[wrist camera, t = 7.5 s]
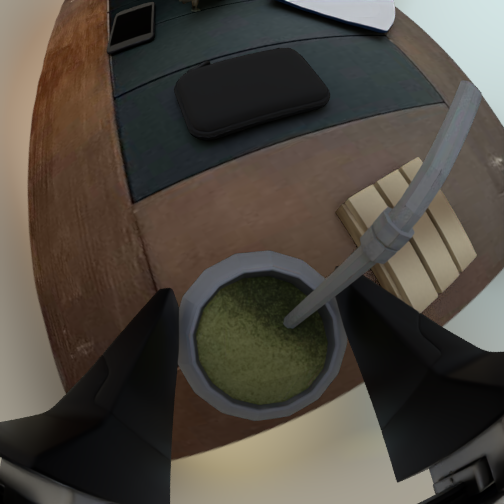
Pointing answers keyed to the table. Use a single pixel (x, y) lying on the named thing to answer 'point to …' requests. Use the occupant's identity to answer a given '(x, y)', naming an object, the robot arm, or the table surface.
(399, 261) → the rack
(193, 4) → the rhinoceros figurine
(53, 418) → the robot arm
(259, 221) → the table surface
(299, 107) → the carrying case
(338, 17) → the plate
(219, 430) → the table surface
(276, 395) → the mate gourd
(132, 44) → the smartphone
